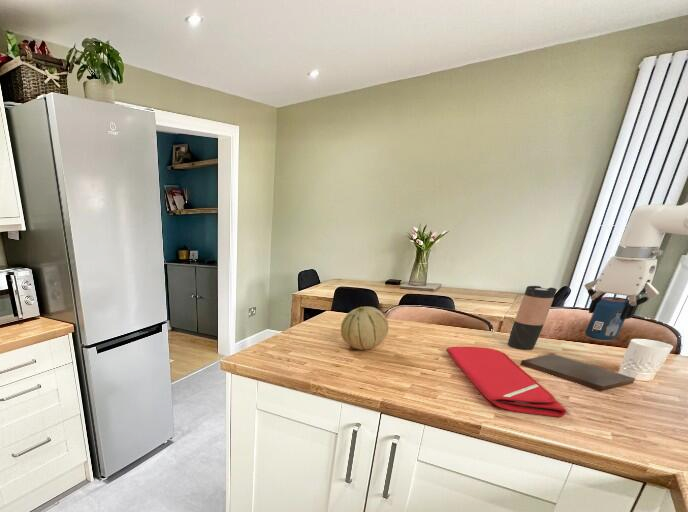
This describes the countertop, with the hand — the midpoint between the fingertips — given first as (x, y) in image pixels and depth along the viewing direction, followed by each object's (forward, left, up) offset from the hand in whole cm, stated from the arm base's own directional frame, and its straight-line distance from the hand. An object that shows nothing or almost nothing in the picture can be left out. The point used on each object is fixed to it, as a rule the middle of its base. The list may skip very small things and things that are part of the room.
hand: (609, 315), depth 118 cm
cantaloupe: (+35, +56, -15) cm, 68 cm away
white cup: (-12, +2, -15) cm, 19 cm away
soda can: (0, 0, -7) cm, 7 cm away
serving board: (-5, +15, -15) cm, 22 cm away
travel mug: (+16, +5, -15) cm, 23 cm away
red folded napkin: (0, +40, -15) cm, 43 cm away
